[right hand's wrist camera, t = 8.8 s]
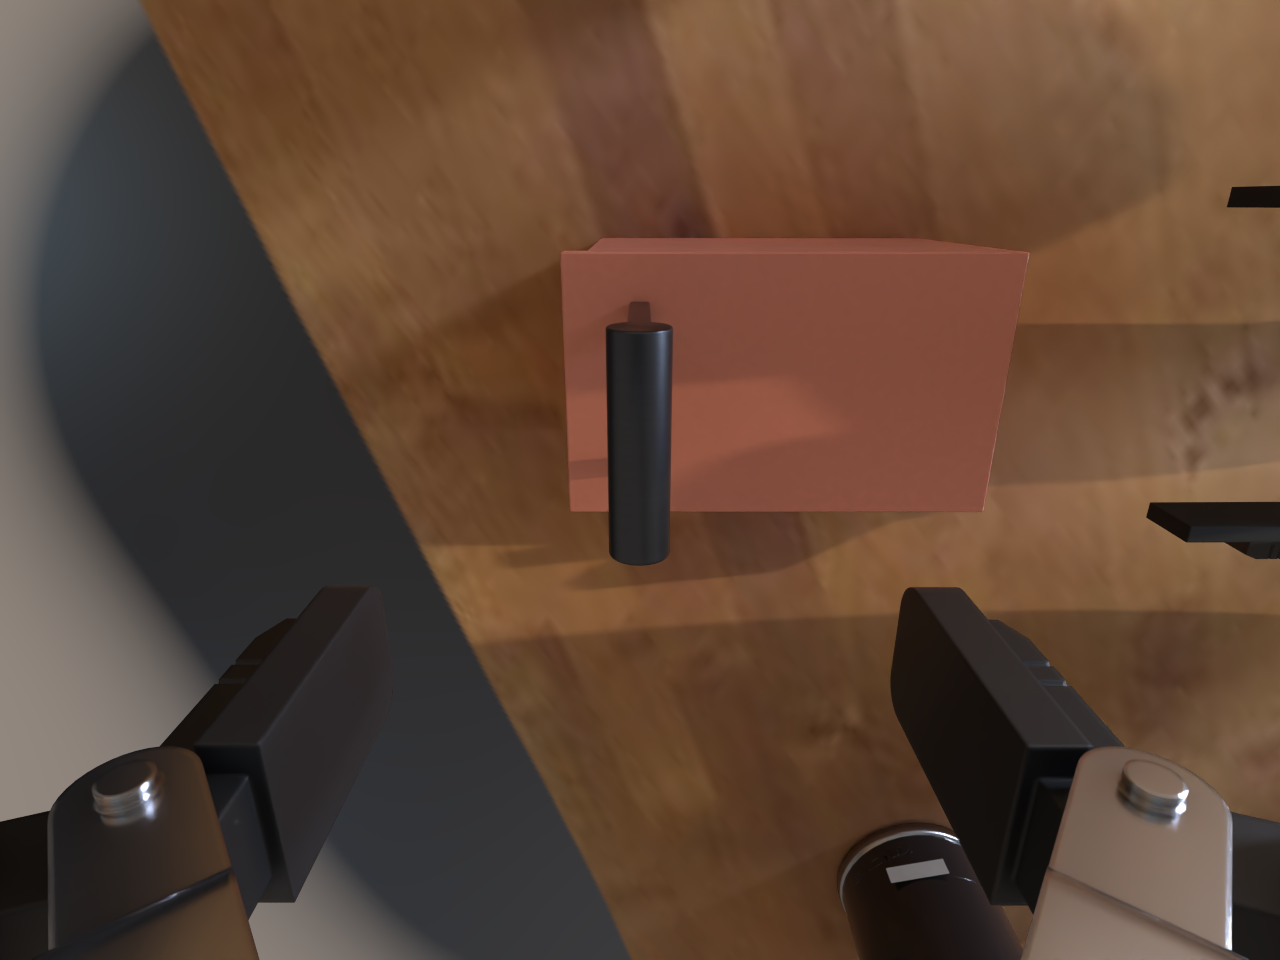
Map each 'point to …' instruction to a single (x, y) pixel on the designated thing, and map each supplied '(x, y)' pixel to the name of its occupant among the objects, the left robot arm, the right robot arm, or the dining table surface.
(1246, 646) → the dining table surface
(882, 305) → the lid
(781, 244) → the chest
